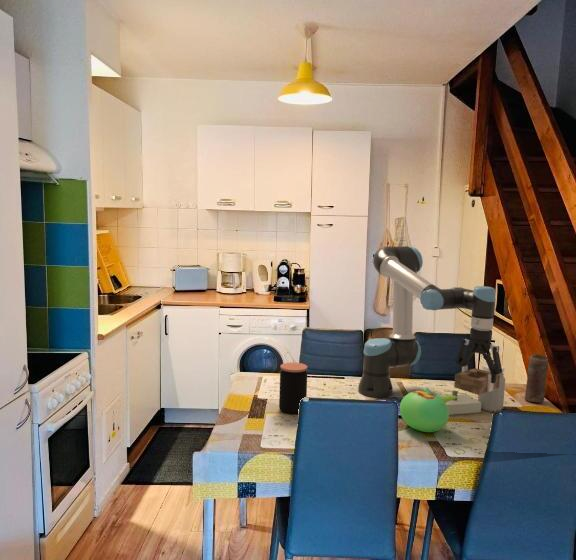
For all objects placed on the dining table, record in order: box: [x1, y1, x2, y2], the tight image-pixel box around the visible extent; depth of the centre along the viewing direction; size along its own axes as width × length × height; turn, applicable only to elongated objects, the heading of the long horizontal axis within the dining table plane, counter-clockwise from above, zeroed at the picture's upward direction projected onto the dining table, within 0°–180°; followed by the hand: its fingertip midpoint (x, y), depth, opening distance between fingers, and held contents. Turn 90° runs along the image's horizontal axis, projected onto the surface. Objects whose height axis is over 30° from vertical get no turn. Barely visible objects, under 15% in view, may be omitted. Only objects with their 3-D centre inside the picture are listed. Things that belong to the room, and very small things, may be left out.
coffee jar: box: [278, 362, 308, 416], centre depth 196 cm, size 11×11×18 cm
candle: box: [524, 353, 549, 404], centre depth 214 cm, size 8×7×20 cm
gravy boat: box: [399, 387, 457, 433], centre depth 181 cm, size 18×17×15 cm
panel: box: [446, 390, 482, 416], centre depth 203 cm, size 18×10×8 cm, turn 104°
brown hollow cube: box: [453, 367, 500, 396], centre depth 186 cm, size 14×10×5 cm
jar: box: [477, 363, 506, 413], centre depth 204 cm, size 10×10×18 cm
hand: (476, 386), depth 186 cm, fingers closed on brown hollow cube, 10 cm apart
